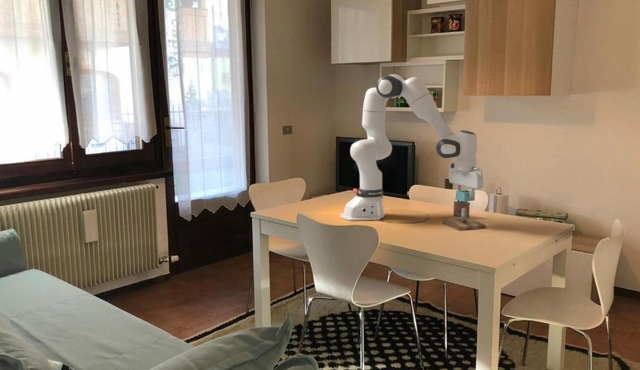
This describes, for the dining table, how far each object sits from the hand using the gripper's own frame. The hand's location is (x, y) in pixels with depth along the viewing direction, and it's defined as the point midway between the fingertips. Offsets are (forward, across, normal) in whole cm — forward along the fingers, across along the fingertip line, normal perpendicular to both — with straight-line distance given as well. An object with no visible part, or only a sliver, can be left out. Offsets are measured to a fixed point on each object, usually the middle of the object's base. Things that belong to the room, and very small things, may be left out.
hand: (465, 195), depth 261 cm
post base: (+14, 0, 0) cm, 14 cm away
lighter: (+15, +15, -11) cm, 23 cm away
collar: (+2, 0, 0) cm, 2 cm away
